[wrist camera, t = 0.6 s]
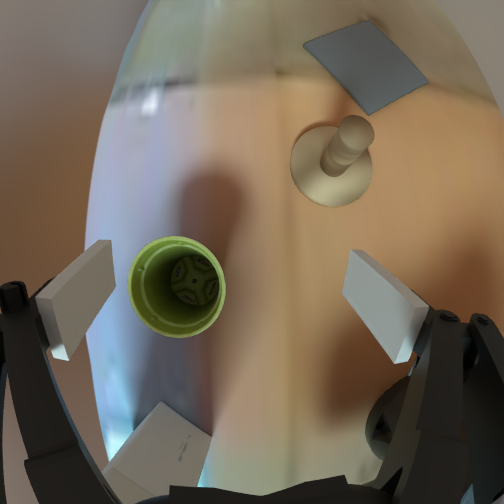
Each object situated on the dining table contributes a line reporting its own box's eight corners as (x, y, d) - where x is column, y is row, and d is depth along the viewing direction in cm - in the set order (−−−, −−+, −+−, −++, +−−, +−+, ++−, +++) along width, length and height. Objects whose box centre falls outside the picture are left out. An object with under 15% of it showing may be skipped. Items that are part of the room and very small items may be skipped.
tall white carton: (212, 437, 34) (167, 583, 9) (179, 465, 34) (126, 588, 9) (161, 399, 34) (66, 527, 9) (132, 431, 35) (47, 540, 10)
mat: (427, 83, 33) (428, 81, 32) (368, 115, 33) (369, 114, 33) (367, 22, 33) (368, 20, 33) (303, 46, 34) (303, 44, 33)
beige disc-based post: (383, 179, 33) (426, 152, 22) (322, 223, 34) (348, 209, 22) (336, 117, 34) (360, 70, 22) (273, 155, 34) (276, 114, 23)
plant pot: (175, 228, 34) (147, 220, 26) (247, 258, 34) (241, 259, 25) (148, 298, 35) (116, 311, 26) (218, 330, 34) (203, 354, 25)
